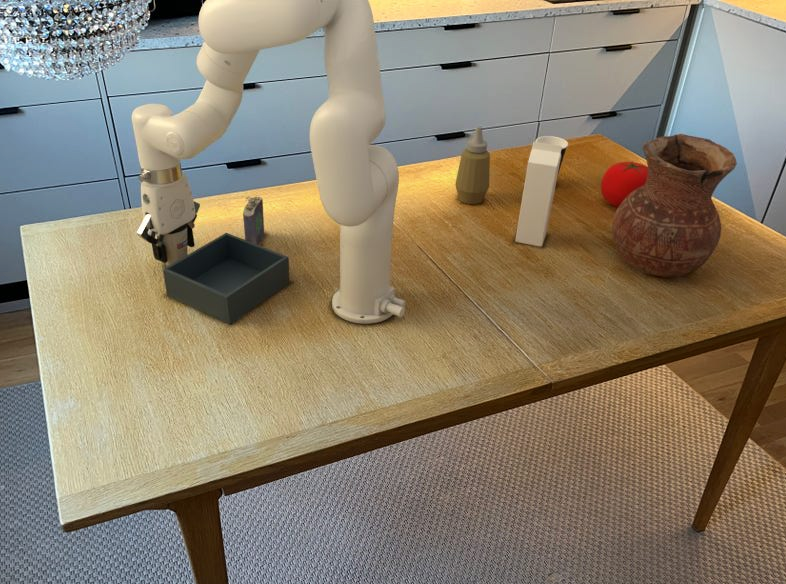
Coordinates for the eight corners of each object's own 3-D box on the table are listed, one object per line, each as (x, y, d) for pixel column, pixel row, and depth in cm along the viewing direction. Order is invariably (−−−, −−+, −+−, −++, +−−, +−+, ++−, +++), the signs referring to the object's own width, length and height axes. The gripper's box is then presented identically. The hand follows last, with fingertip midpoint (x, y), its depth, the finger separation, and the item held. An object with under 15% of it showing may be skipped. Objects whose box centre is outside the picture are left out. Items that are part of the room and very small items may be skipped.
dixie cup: (527, 176, 195) (534, 134, 188) (558, 178, 195) (566, 136, 188) (529, 189, 189) (536, 147, 182) (561, 191, 189) (570, 149, 182)
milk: (541, 247, 167) (560, 152, 153) (514, 242, 168) (530, 147, 154) (546, 234, 171) (564, 140, 157) (519, 229, 173) (535, 136, 159)
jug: (723, 290, 155) (765, 175, 139) (620, 288, 154) (652, 173, 139) (686, 236, 172) (720, 129, 157) (594, 234, 172) (619, 127, 156)
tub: (289, 283, 153) (288, 256, 149) (229, 324, 141) (226, 297, 137) (228, 258, 160) (226, 232, 156) (166, 295, 148) (162, 269, 144)
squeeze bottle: (448, 194, 186) (455, 122, 175) (479, 190, 188) (487, 119, 177) (461, 208, 180) (469, 135, 169) (492, 204, 182) (502, 132, 171)
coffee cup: (153, 268, 156) (145, 224, 150) (168, 251, 161) (161, 209, 155) (185, 273, 155) (178, 229, 148) (199, 256, 160) (192, 213, 154)
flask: (255, 254, 161) (252, 208, 155) (242, 252, 162) (238, 207, 155) (266, 233, 169) (263, 188, 162) (253, 232, 169) (250, 187, 162)
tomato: (595, 210, 181) (605, 169, 174) (598, 190, 190) (608, 150, 183) (647, 218, 178) (659, 177, 172) (648, 197, 187) (659, 157, 181)
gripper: (141, 193, 138) (156, 276, 149) (207, 161, 150) (217, 241, 161) (112, 182, 142) (130, 265, 152) (180, 152, 153) (191, 231, 164)
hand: (174, 252), depth 156 cm, fingers closed on coffee cup, 7 cm apart
